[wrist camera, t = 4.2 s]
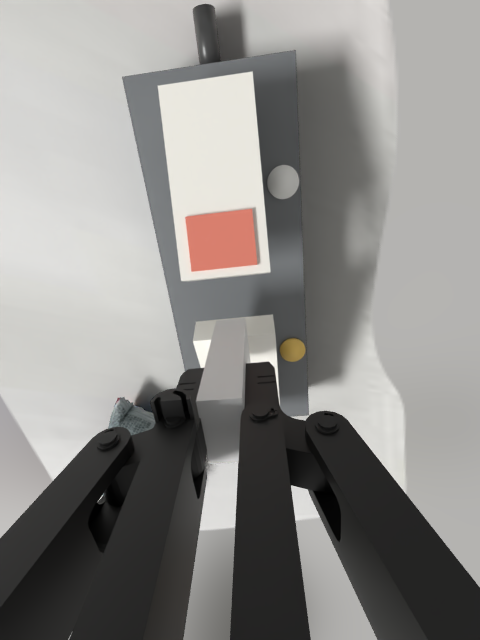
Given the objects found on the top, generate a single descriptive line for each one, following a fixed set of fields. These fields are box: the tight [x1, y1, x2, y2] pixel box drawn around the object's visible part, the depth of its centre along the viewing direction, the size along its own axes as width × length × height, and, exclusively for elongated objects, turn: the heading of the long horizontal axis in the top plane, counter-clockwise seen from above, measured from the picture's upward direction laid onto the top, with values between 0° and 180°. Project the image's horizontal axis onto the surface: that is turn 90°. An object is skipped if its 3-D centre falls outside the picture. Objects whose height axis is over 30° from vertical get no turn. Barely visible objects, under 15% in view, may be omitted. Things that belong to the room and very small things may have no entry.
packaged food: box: [103, 397, 155, 495], centre depth 29 cm, size 9×12×5 cm
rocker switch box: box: [122, 4, 309, 417], centre depth 21 cm, size 26×9×5 cm, turn 7°
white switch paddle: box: [193, 314, 280, 404], centre depth 20 cm, size 9×4×2 cm, turn 6°
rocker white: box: [158, 71, 271, 281], centre depth 16 cm, size 9×4×2 cm, turn 7°
